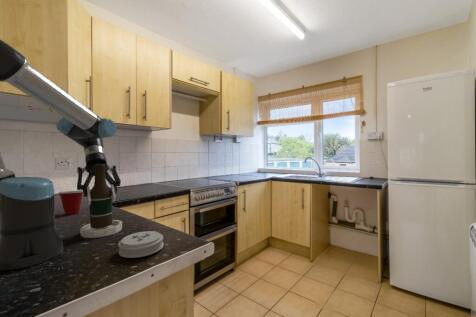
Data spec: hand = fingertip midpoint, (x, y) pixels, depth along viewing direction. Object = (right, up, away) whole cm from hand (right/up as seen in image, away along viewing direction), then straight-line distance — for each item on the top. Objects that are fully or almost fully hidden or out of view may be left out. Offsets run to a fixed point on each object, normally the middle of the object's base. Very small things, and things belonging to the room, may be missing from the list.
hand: (102, 201), depth 83 cm
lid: (+22, -13, -15) cm, 29 cm away
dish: (-2, -13, +3) cm, 13 cm away
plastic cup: (-35, -13, +32) cm, 49 cm away
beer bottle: (-2, -10, +3) cm, 11 cm away
